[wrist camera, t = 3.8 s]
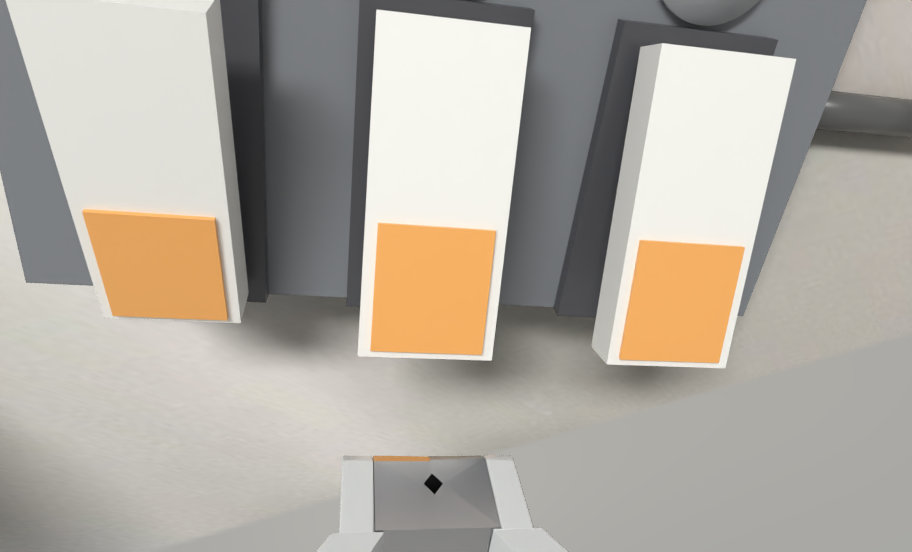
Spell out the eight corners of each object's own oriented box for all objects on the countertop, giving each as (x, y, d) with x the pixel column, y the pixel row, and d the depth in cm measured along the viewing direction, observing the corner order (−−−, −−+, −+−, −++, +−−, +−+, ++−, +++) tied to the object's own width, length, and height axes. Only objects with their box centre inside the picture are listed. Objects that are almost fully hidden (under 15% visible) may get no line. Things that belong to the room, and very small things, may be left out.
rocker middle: (518, 32, 15) (532, 26, 14) (483, 342, 17) (492, 362, 16) (376, 16, 14) (376, 8, 13) (358, 337, 16) (357, 358, 15)
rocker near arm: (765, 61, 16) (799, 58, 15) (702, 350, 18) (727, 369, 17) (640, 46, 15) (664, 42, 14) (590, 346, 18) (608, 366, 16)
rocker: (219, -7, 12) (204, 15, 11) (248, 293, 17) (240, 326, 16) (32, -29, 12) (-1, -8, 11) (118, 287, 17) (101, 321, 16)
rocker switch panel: (1022, -103, 18) (1194, -114, 14) (843, 282, 24) (931, 346, 20) (-25, -284, 14) (-177, -368, 10) (71, 237, 20) (-1, 308, 16)
